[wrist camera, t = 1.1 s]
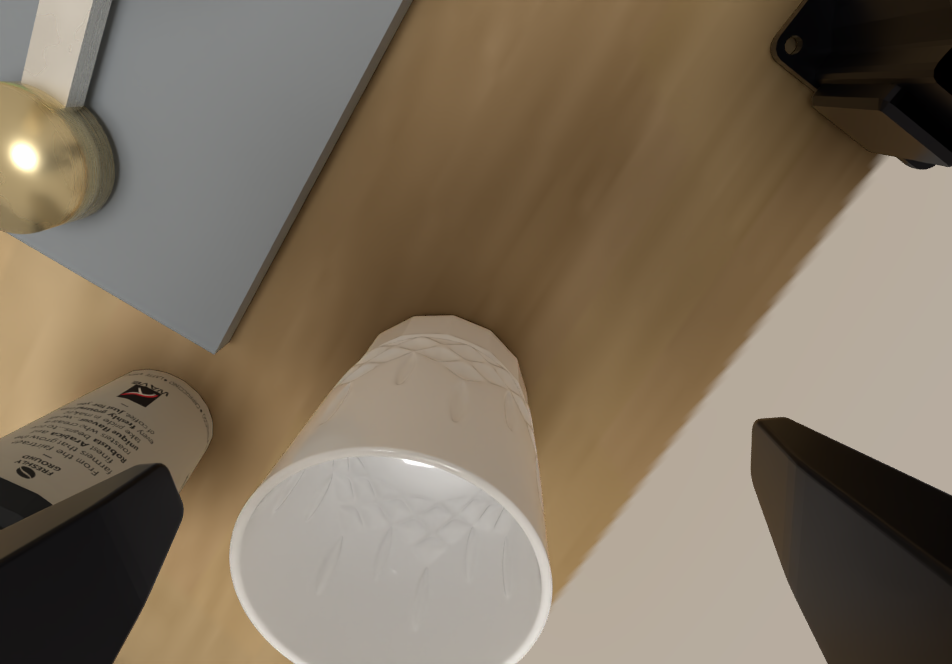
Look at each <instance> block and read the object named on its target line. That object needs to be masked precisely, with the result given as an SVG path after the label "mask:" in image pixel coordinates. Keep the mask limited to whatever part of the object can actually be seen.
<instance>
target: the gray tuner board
mask: <svg viewBox="0 0 952 664" xmlns="http://www.w3.org/2000/svg"><path fill="white" fill-rule="evenodd" d="M412 1H413V0H112V3H111V6H110V10H109V14H108V17H107V21H106V25H105V28H104V32H103V36H102V39H101V43H100V47H99V51H98V54H97V58H96V62H95V65H94V69H93V73H92V76H91V80H90V84H89V87H88V91H87V95H86V99H85V102H84V106H85V107H86V108H88V109H89V110H90V112H91V113H92V114H93V115H94V116H95V118H96V119H97V120H98V122H99V123H100V125H101V126H102V128H103V130H104V132H105V134H106V135H107V138H108V140H109V143H110V145H111V149H112V152H113V157H114V162H115V178H114V184H113V188H112V191H111V193H110V196H109V198H108V199H107V201H106V202H105V204H104V205H103V206H102V207H101V208H100V209H99V210H98V211H97V212H95V213H94V214H92V215H90V216H88V217H86V218H83V219H80V220H77V221H73V222H70V223H67V224H63V225H60V226H57V227H53V228H50V229H47V230H43V231H40V232H36V233H31V234H13V233H8V232H6V233H8V234H10V235H11V236H13V237H15V238H17V239H18V240H20V241H22V242H23V243H25V244H27V245H28V246H30V247H32V248H34V249H35V250H37V251H39V252H40V253H42V254H44V255H46V256H47V257H49V258H51V259H52V260H54V261H56V262H57V263H59V264H61V265H63V266H64V267H66V268H68V269H69V270H71V271H73V272H74V273H76V274H78V275H80V276H81V277H83V278H85V279H86V280H88V281H90V282H92V283H93V284H95V285H97V286H98V287H100V288H102V289H103V290H105V291H107V292H109V293H110V294H112V295H114V296H115V297H117V298H119V299H120V300H122V301H124V302H126V303H127V304H129V305H131V306H132V307H134V308H136V309H137V310H139V311H141V312H143V313H144V314H146V315H148V316H149V317H151V318H153V319H155V320H156V321H158V322H160V323H161V324H163V325H165V326H166V327H168V328H170V329H172V330H173V331H175V332H177V333H178V334H180V335H182V336H183V337H185V338H187V339H189V340H190V341H192V342H194V343H195V344H197V345H199V346H201V347H202V348H204V349H206V350H207V351H209V352H211V353H212V354H216V353H217V352H218V351H219V350H220V349H221V348H223V347H224V346H225V345H226V344H227V343H228V342H229V341H230V339H231V337H232V335H233V333H234V332H235V330H236V328H237V326H238V324H239V322H240V320H241V319H242V317H243V315H244V313H245V311H246V309H247V307H248V306H249V304H250V302H251V300H252V298H253V296H254V294H255V293H256V291H257V289H258V287H259V285H260V283H261V281H262V280H263V278H264V276H265V274H266V272H267V270H268V268H269V266H270V265H271V263H272V261H273V259H274V257H275V255H276V253H277V252H278V250H279V248H280V246H281V244H282V242H283V240H284V239H285V237H286V235H287V233H288V231H289V229H290V227H291V226H292V224H293V222H294V220H295V218H296V216H297V214H298V213H299V211H300V209H301V207H302V205H303V203H304V201H305V200H306V198H307V196H308V194H309V192H310V190H311V188H312V187H313V185H314V183H315V181H316V179H317V177H318V175H319V174H320V172H321V170H322V168H323V166H324V164H325V162H326V161H327V159H328V157H329V155H330V153H331V151H332V149H333V148H334V146H335V144H336V142H337V140H338V138H339V136H340V135H341V133H342V131H343V129H344V127H345V125H346V123H347V122H348V120H349V118H350V116H351V114H352V112H353V110H354V109H355V107H356V105H357V103H358V101H359V99H360V97H361V95H362V94H363V92H364V90H365V88H366V86H367V84H368V82H369V81H370V79H371V77H372V75H373V73H374V71H375V69H376V68H377V66H378V64H379V62H380V60H381V58H382V56H383V55H384V53H385V51H386V49H387V47H388V45H389V43H390V42H391V40H392V38H393V36H394V34H395V32H396V30H397V29H398V27H399V25H400V23H401V21H402V19H403V17H404V16H405V14H406V12H407V10H408V8H409V6H410V4H411V3H412ZM38 5H39V0H0V81H21V80H22V76H23V71H24V67H25V62H26V58H27V53H28V49H29V45H30V40H31V36H32V31H33V27H34V22H35V18H36V14H37V9H38Z"/></svg>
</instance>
